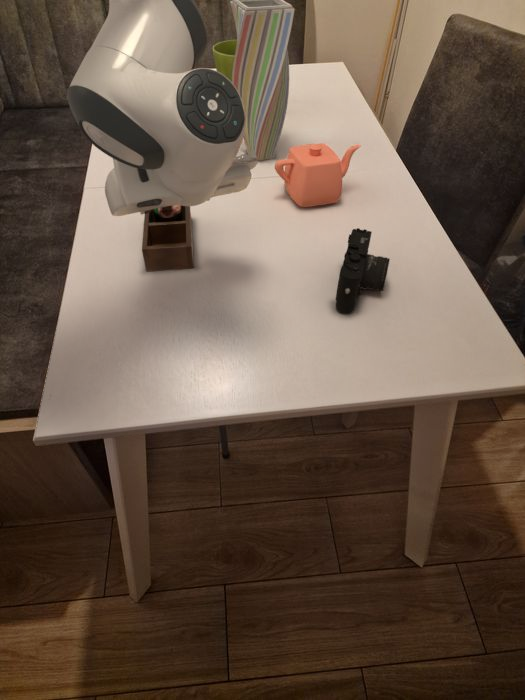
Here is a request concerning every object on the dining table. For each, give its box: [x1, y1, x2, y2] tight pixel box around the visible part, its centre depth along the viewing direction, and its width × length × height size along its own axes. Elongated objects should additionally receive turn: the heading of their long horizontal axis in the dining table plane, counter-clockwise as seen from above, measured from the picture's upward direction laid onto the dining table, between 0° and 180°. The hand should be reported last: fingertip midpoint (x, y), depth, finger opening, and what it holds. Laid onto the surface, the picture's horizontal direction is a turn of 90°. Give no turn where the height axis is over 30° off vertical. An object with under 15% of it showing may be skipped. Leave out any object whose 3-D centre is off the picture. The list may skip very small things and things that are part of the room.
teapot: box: [274, 142, 362, 208], centre depth 98 cm, size 12×18×10 cm, turn 106°
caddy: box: [141, 206, 195, 272], centre depth 87 cm, size 8×15×4 cm, turn 7°
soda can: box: [153, 205, 183, 223], centre depth 86 cm, size 5×5×12 cm
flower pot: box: [212, 39, 237, 82], centre depth 126 cm, size 15×15×16 cm
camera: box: [335, 227, 390, 315], centre depth 77 cm, size 14×7×8 cm, turn 164°
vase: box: [230, 0, 295, 161], centre depth 104 cm, size 14×14×30 cm
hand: (173, 202), depth 75 cm, fingers open, 8 cm apart
